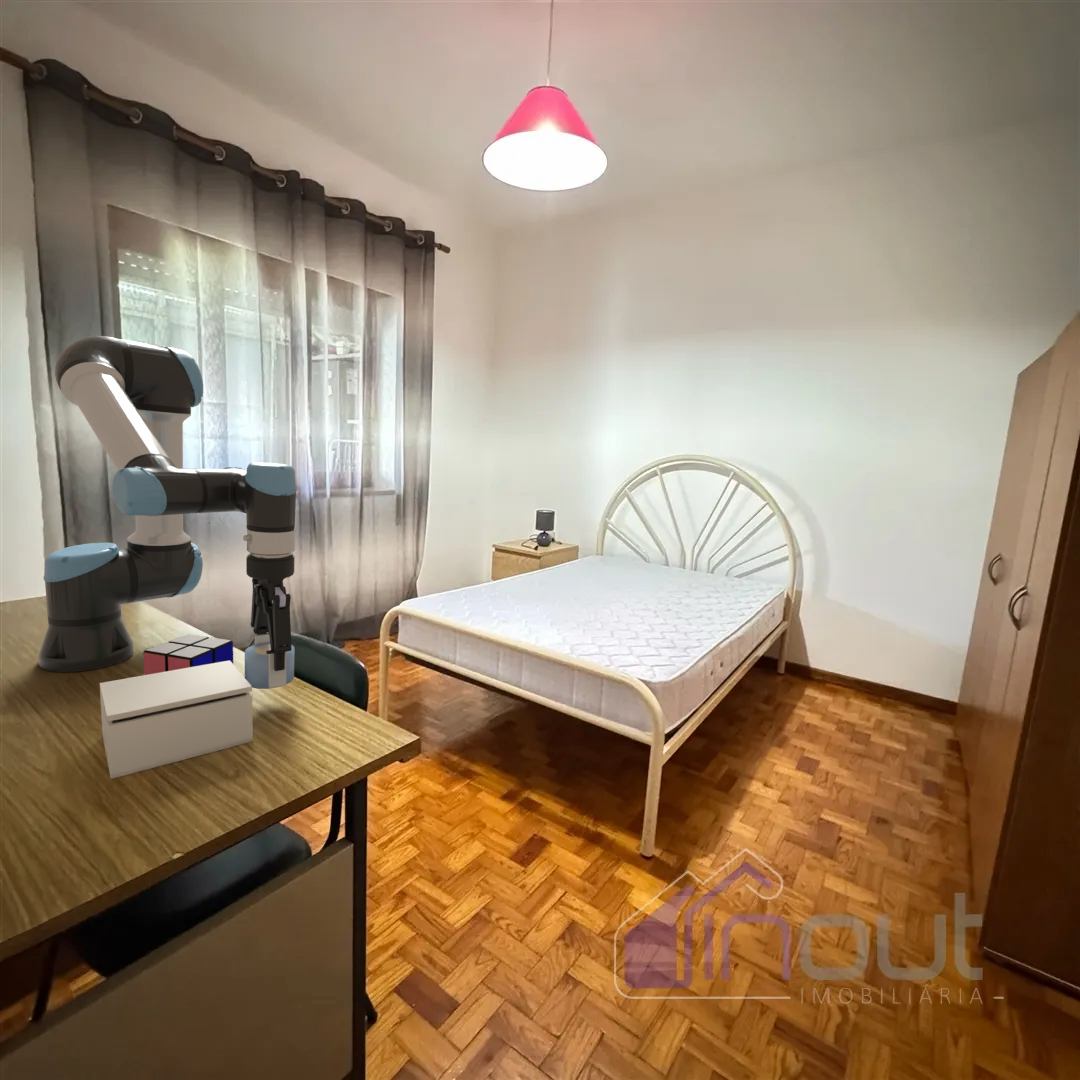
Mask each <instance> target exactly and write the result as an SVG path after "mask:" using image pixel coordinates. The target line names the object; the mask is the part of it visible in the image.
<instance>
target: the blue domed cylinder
mask: <svg viewBox="0 0 1080 1080" xmlns="http://www.w3.org/2000/svg"><path fill="white" fill-rule="evenodd" d="M291 646H292V650H291V651H288V652H287V656H286V685H288V684H290V683H292V682H293V680H294V678H295V646H294V645H293V644H291ZM269 650H271V646H270V642H266V643H259V644H256V645H255V644H253V645H251V646H248V647H247V648H246V649H245V650H244V678H245V679H246V680H247V681H248V682H249V684H250V685H251V686H252V689H257V690H258V689H259V690H269V689H271V690H272V688H269V687H268V667H269V654H267V653H266V651H269ZM280 687H282V686H279V687H275V688H274V689H276V688H280Z"/></svg>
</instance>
